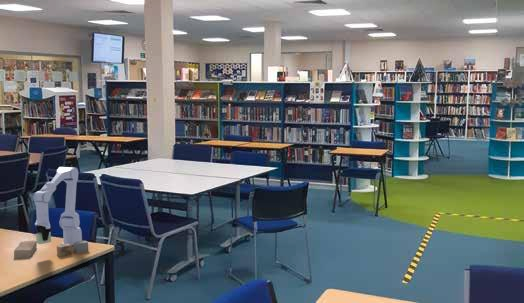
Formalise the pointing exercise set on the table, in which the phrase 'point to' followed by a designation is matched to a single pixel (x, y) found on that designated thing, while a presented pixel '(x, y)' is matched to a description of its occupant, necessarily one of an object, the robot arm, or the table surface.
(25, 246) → the brick
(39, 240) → the green block
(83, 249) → the grey block
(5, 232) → the table surface
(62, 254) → the walnut block
